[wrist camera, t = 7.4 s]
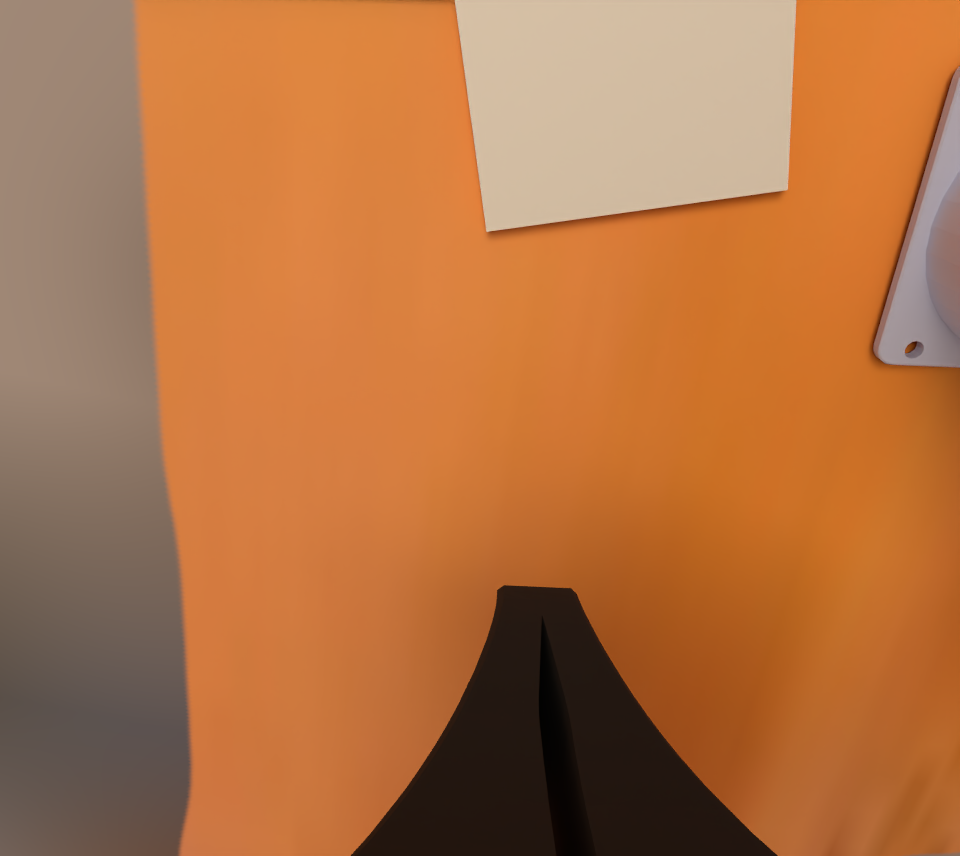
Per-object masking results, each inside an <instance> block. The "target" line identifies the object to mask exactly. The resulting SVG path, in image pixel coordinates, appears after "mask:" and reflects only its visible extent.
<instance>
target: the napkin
mask: <svg viewBox="0 0 960 856" xmlns="http://www.w3.org/2000/svg"><path fill="white" fill-rule="evenodd" d="M455 5H456V13H457V20H458V27H459V34H460V42H461V49H462V56H463V64H464V71H465V78H466V85H467V93H468V100H469V107H470V115H471V122H472V129H473V137H474V144H475V151H476V158H477V166H478V173H479V180H480V188H481V195H482V202H483V209H484V217H485V224H486V231H487V232H489V231H496V230H503V229H510V228H517V227H525V226H532V225H539V224H546V223H553V222H561V221H568V220H575V219H582V218H590V217H597V216H604V215H611V214H618V213H626V212H633V211H640V210H647V209H654V208H662V207H669V206H676V205H683V204H690V203H698V202H705V201H712V200H719V199H726V198H734V197H741V196H748V195H755V194H762V193H770V192H777V191H784V190H788V171H789V149H790V127H791V105H792V83H793V61H794V39H795V17H796V0H455Z"/></svg>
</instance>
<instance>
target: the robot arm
mask: <svg viewBox="0 0 960 856" xmlns="http://www.w3.org/2000/svg"><path fill="white" fill-rule="evenodd" d="M915 341H917V346H916V347H915V349H914V350H913V351H911V352H910V353H905V348H906V347H907V345H908V344H910V343H911V342H915ZM873 351H874V353H875V356H876V357H878V358H879V359H880V360H881V361H883V362H884V363H886V364H890V365H911V366H935V367H959V368H960V66H959V68H958V69H957V70H956V72H955V74H954V76H953V78H952V81H951V85H950V88H949V91H948V95H947V98H946V101H945V105H944V108H943V112H942V115H941V118H940V122H939V125H938V129H937V132H936V135H935V139H934V142H933V145H932V149H931V152H930V156H929V159H928V162H927V166H926V169H925V173H924V176H923V179H922V183H921V186H920V189H919V193H918V196H917V200H916V203H915V206H914V210H913V213H912V217H911V220H910V223H909V227H908V230H907V233H906V237H905V240H904V244H903V247H902V250H901V254H900V257H899V261H898V264H897V267H896V271H895V274H894V277H893V281H892V284H891V288H890V291H889V294H888V298H887V301H886V305H885V308H884V311H883V315H882V318H881V321H880V325H879V328H878V332H877V335H876V338H875V342H874V348H873ZM351 856H777V855H776V854H775V853H774V852H773V851H772V850H771V849H770V848H768V847H767V846H766V845H765V844H764V843H763V842H762V841H761V840H759V839H758V838H757V837H756V836H755V835H754V834H753V833H752V832H751V831H750V830H749V829H748V828H747V827H746V826H745V825H744V824H743V823H742V822H741V821H740V820H739V819H738V818H737V817H736V816H735V815H734V814H733V813H732V812H731V811H730V810H729V809H728V808H727V807H726V806H725V805H724V804H723V803H722V802H721V801H720V800H719V799H718V798H717V797H716V796H715V795H714V794H713V793H712V792H711V791H710V790H709V789H708V788H707V787H706V786H705V785H704V784H703V783H702V782H701V780H700V779H699V778H698V777H697V776H696V775H695V774H694V773H693V771H692V770H691V769H690V768H689V767H688V766H687V765H686V764H685V762H684V761H683V760H682V759H681V758H680V756H679V755H678V754H677V753H676V752H675V750H674V749H673V748H672V747H671V746H670V744H669V743H668V742H667V741H666V739H665V738H664V737H663V736H662V734H661V733H660V732H659V730H658V729H657V728H656V726H655V725H654V724H653V722H652V721H651V720H650V718H649V717H648V716H647V714H646V713H645V711H644V710H643V709H642V707H641V706H640V704H639V703H638V702H637V700H636V699H635V697H634V696H633V694H632V693H631V691H630V690H629V688H628V687H627V685H626V684H625V682H624V681H623V679H622V678H621V676H620V674H619V673H618V671H617V669H616V668H615V666H614V665H613V663H612V661H611V660H610V658H609V657H608V655H607V653H606V651H605V650H604V648H603V646H602V645H601V643H600V641H599V639H598V637H597V635H596V634H595V632H594V630H593V628H592V626H591V624H590V622H589V620H588V618H587V616H586V614H585V612H584V610H583V608H582V606H581V603H580V601H579V599H578V596H577V594H576V593H575V592H574V591H573V590H572V589H571V588H550V587H528V586H506V585H504V586H503V587H501V588H500V589H498V590H497V603H496V609H495V613H494V617H493V621H492V625H491V628H490V631H489V634H488V637H487V640H486V643H485V645H484V648H483V651H482V653H481V656H480V658H479V661H478V663H477V666H476V668H475V671H474V673H473V675H472V677H471V679H470V681H469V683H468V685H467V688H466V690H465V692H464V694H463V696H462V698H461V700H460V702H459V704H458V706H457V708H456V710H455V712H454V714H453V715H452V717H451V719H450V721H449V723H448V724H447V726H446V728H445V730H444V731H443V733H442V735H441V736H440V738H439V740H438V741H437V743H436V745H435V746H434V748H433V749H432V751H431V752H430V754H429V756H428V757H427V759H426V760H425V762H424V763H423V765H422V766H421V768H420V769H419V771H418V772H417V774H416V775H415V777H414V778H413V779H412V781H411V782H410V784H409V785H408V786H407V788H406V789H405V791H404V792H403V793H402V795H401V796H400V797H399V798H398V800H397V801H396V802H395V803H394V805H393V806H392V807H391V808H390V810H389V811H388V812H387V814H386V815H385V816H384V817H383V819H382V820H381V821H380V822H379V824H378V825H377V826H376V827H375V829H374V830H373V831H372V832H371V834H370V835H369V836H368V837H367V838H366V839H365V841H364V842H363V843H362V844H361V845H360V846H359V847H358V848H357V849H356V850H355V851H354V853H353V854H352V855H351Z"/></svg>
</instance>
